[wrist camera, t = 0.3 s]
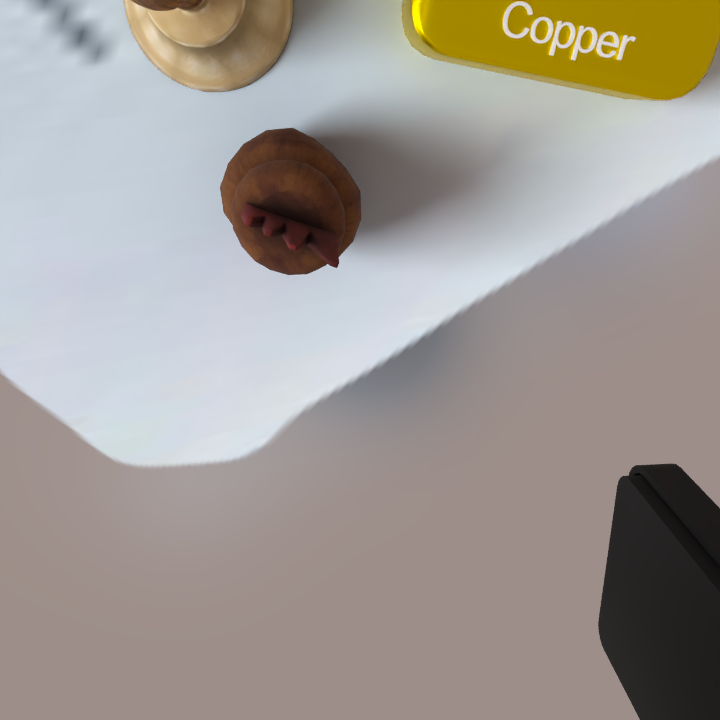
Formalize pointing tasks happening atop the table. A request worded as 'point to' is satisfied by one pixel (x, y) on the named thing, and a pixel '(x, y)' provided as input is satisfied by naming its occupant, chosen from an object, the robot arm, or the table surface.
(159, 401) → the table surface
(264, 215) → the wooden figurine
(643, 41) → the element tile
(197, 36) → the hand bell
